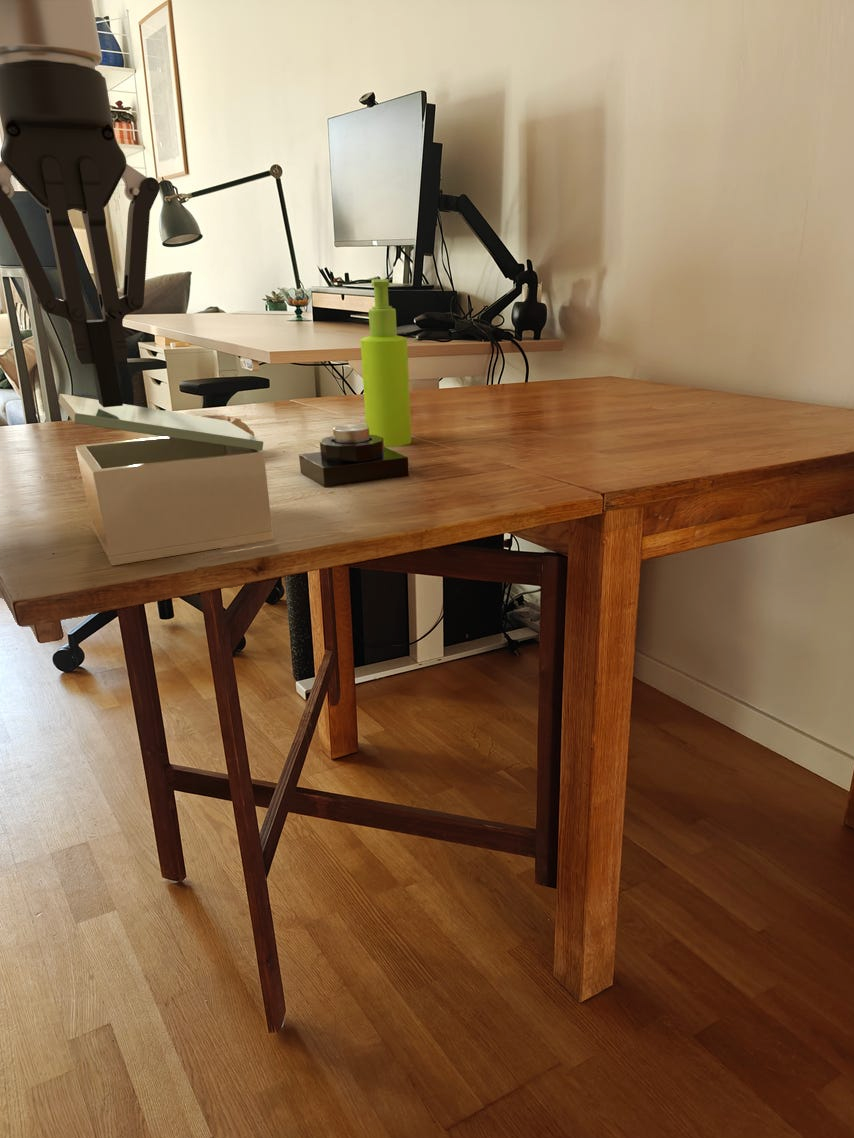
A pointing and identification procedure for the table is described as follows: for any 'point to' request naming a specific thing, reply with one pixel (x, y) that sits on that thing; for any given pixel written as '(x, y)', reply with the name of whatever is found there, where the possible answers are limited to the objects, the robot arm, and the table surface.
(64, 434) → the table surface
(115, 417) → the box lid
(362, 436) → the silver push button
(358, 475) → the plate
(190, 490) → the wooden box
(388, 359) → the lime green bottle
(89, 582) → the table surface
